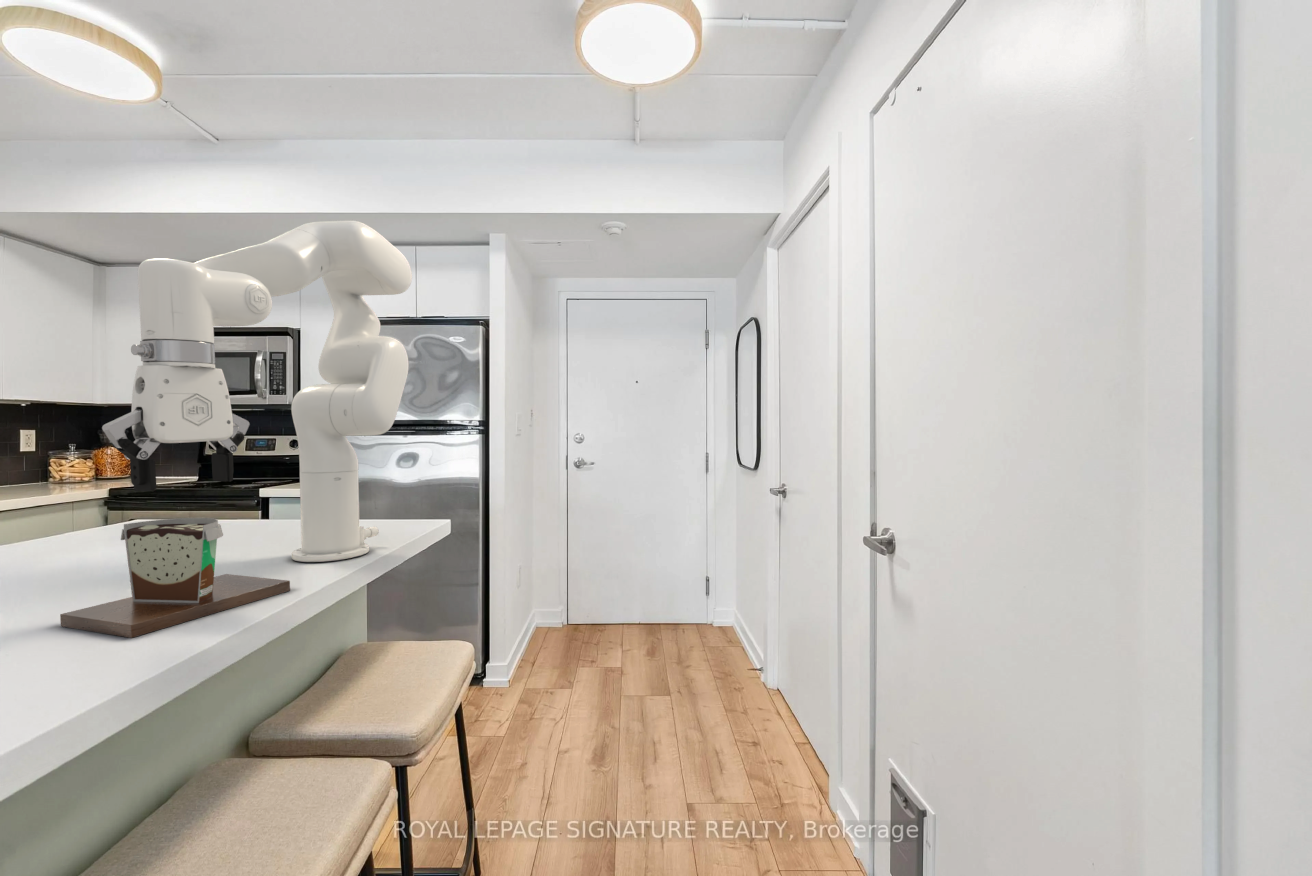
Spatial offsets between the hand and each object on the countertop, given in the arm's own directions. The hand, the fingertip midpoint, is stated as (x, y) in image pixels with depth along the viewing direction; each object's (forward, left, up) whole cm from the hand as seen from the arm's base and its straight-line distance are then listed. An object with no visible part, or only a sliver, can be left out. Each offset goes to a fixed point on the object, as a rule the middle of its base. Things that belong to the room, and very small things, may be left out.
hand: (186, 485), depth 79 cm
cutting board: (+1, 0, -16) cm, 16 cm away
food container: (0, 0, -15) cm, 15 cm away
